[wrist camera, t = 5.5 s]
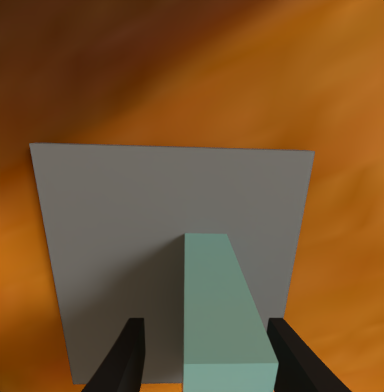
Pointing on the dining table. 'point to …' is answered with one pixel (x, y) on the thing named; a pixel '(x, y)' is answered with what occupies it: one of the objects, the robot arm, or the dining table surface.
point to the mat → (160, 237)
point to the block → (221, 323)
